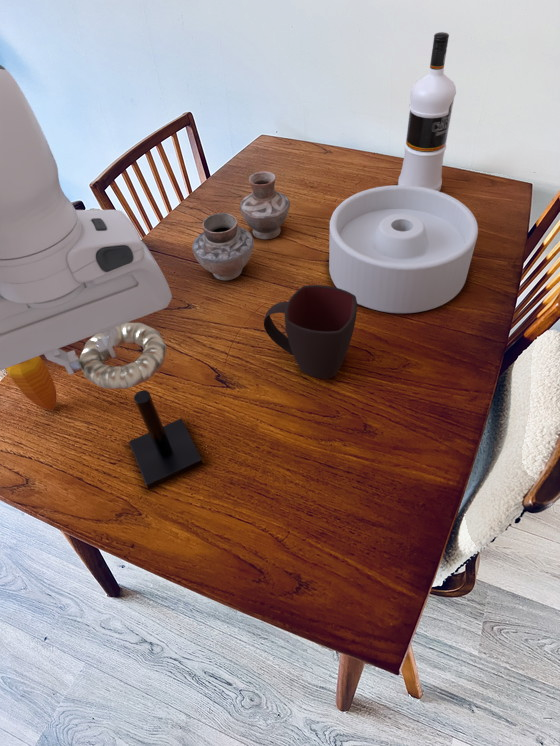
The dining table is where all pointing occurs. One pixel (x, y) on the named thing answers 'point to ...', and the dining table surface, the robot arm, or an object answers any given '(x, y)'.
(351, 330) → the cup
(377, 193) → the container
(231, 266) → the pottery
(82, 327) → the robot arm
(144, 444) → the peg stand
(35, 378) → the carrot
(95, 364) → the ring
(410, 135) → the vodka
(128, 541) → the dining table surface
